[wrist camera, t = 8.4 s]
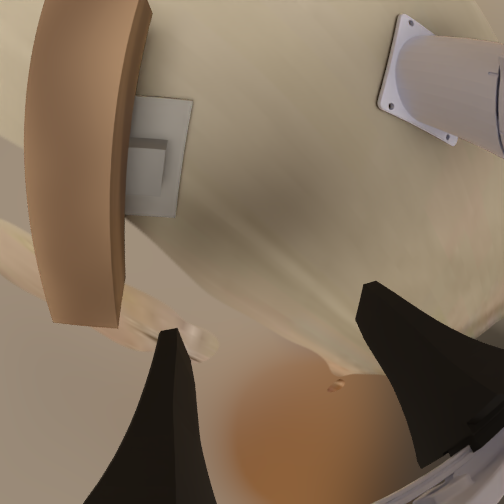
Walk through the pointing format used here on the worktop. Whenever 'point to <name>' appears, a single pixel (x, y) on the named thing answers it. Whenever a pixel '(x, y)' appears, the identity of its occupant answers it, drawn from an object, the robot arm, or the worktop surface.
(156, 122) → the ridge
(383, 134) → the worktop surface
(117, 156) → the beam
